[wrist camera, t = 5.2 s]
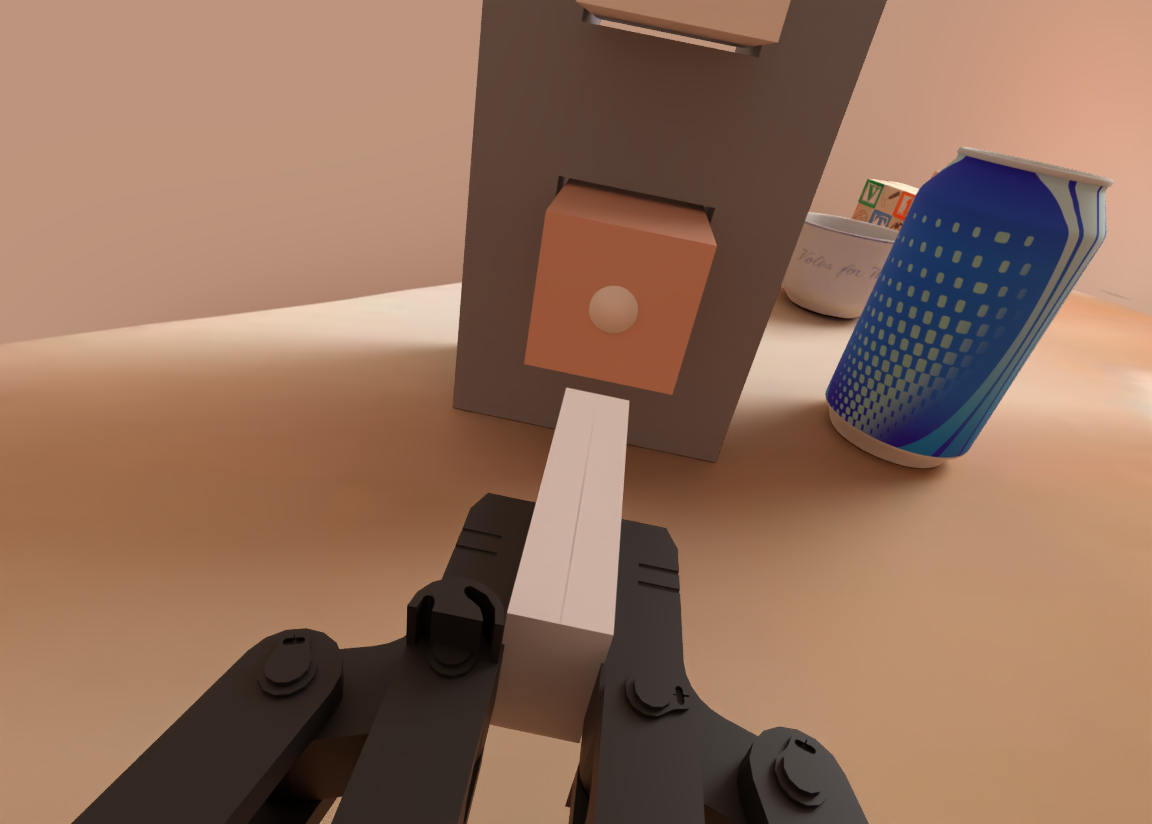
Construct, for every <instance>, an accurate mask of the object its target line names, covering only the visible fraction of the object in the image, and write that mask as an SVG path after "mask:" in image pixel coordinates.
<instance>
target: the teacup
mask: <svg viewBox="0 0 1152 824" xmlns="http://www.w3.org/2000/svg"><path fill="white" fill-rule="evenodd" d="M898 233H899V231H896V230H894V229H890V228H887V227H883V226H879V225H876V224H871V223H867V222H864V221H859V220H854V219H849V218H845V217H840V216H835V215H829V214H822V213H811V212H808V214H807V217H806V220H805V222H804V225H803V228H802V231H801V233H800V236H799V239H798V241H797V244H796V247H795V249H794V252H793V255H792V258H791V260H790V263H789V266H788V268H787V271H786V274H785V276H784V279H783V282H782V284H781V286H782V287H783V288H784V290H785V291H786V293H787V296H788V297H789V299H790V300H791V301H792V302H794V303H795V304H797V305H799V306H801V307H803V308H806V309H808V310H811V311H814V312H817V313H821V314H825V315H830V316H836V317H841V318H856V317H859V316H861V314H862V312H863V309H864V307H865V305H866V303H867V301H868V299H869V296H870V294H871V292H872V290H873V288H874V285H875V283H876V281H877V279H878V277H879V275H880V272H881V270H882V268H883V266H884V264H885V262H886V259H887V257H888V255H889V253H890V251H891V249H892V246H893V244H894V242H895V240H896V238H897V235H898Z"/></svg>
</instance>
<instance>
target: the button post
mask: <svg viewBox="0 0 1152 824" xmlns="http://www.w3.org/2000/svg"><path fill="white" fill-rule="evenodd" d="M886 1H887V0H791V1H790V4H789V8H788V11H787V14H786V18H785V21H784V24H783V28H782V31H781V34H780V38H779V41H778V43H772V44H765V45H759V46H753V47H746V48H740V47H736V50H735V53H734V52H729V51H724V50H719V49H714V48H709V47H704V46H699V45H694V44H690V43H685V42H680V41H675V40H670V39H665V38H660V37H655V36H650V35H645V34H640V33H635V32H631V31H625V30H621V29H615V28H611V27H606V26H601V25H600V22H601V19H598V18H596V17H595V16H594V15H593V14H591V13H590V12H589V11H587V10H586V9H585V8H584V7H582V6H581V5H580V4H578V3H577V2H576V0H483V8H482V20H481V35H480V47H479V62H478V74H477V75H478V76H477V88H476V101H475V115H474V129H473V143H472V157H471V169H470V183H469V196H468V211H467V223H466V237H465V250H464V264H463V278H462V291H461V305H460V318H459V332H458V345H457V359H456V372H455V386H454V399H453V408H458V409H463V410H467V411H472V412H477V413H482V414H486V415H491V416H496V417H501V418H506V419H510V420H515V421H520V422H525V423H530V424H534V425H539V426H544V427H549V428H553V429H556V425H557V421H558V417H559V414H560V410H561V406H562V402H563V399H564V395H565V391H566V388H571V389H576V390H580V391H585V392H590V393H595V394H600V395H605V396H609V397H614V398H619V399H624V400H629V414H628V428H627V443H626V444H630V445H635V446H640V447H644V448H649V449H654V450H659V451H663V452H668V453H673V454H678V455H683V456H687V457H692V458H697V459H702V460H706V461H711V462H716V460H717V457H718V454H719V452H720V449H721V446H722V444H723V441H724V438H725V436H726V433H727V430H728V427H729V425H730V422H731V419H732V417H733V414H734V411H735V409H736V406H737V403H738V400H739V398H740V395H741V392H742V390H743V387H744V384H745V382H746V379H747V376H748V373H749V371H750V368H751V365H752V363H753V360H754V357H755V355H756V352H757V349H758V347H759V344H760V341H761V338H762V336H763V333H764V330H765V328H766V325H767V322H768V320H769V317H770V314H771V311H772V309H773V306H774V303H775V301H776V298H777V295H778V293H779V290H780V287H781V284H782V282H783V279H784V276H785V274H786V271H787V268H788V266H789V263H790V260H791V258H792V255H793V252H794V249H795V247H796V244H797V241H798V239H799V236H800V233H801V231H802V228H803V225H804V222H805V220H806V217H807V214H808V212H809V209H810V206H811V204H812V201H813V198H814V195H815V193H816V190H817V187H818V185H819V182H820V179H821V177H822V174H823V171H824V168H825V166H826V163H827V160H828V158H829V155H830V152H831V149H832V147H833V144H834V141H835V139H836V136H837V133H838V131H839V128H840V125H841V123H842V120H843V117H844V115H845V112H846V109H847V106H848V104H849V101H850V98H851V96H852V93H853V90H854V88H855V85H856V82H857V80H858V77H859V74H860V71H861V69H862V66H863V63H864V61H865V58H866V55H867V52H868V50H869V47H870V44H871V42H872V39H873V36H874V34H875V31H876V28H877V26H878V23H879V20H880V17H881V15H882V12H883V9H884V7H885V4H886ZM569 178H572V179H577V180H582V181H587V182H592V183H596V184H601V185H606V186H611V187H616V188H621V189H626V190H631V191H635V192H640V193H645V194H650V195H655V196H660V197H665V198H669V199H674V200H679V201H684V202H689V203H694V204H699V205H703V207H704V209H705V212H706V215H707V218H708V221H709V224H710V227H711V230H712V233H713V236H714V239H715V241H716V244H717V248H716V251H715V254H714V258H713V261H712V264H711V268H710V271H709V274H708V278H707V281H706V284H705V288H704V291H703V294H702V298H701V301H700V304H699V308H698V311H697V314H696V318H695V321H694V324H693V328H692V331H691V334H690V338H689V341H688V344H687V348H686V351H685V354H684V358H683V361H682V364H681V368H680V371H679V374H678V378H677V381H676V384H675V388H674V391H673V394H672V395H670V394H665V393H661V392H656V391H651V390H646V389H641V388H637V387H632V386H627V385H622V384H617V383H613V382H608V381H603V380H598V379H593V378H589V377H584V376H579V375H574V374H569V373H565V372H560V371H555V370H550V369H545V368H541V367H536V366H531V365H526V364H524V361H525V354H526V347H527V340H528V333H529V326H530V319H531V312H532V305H533V298H534V291H535V284H536V277H537V270H538V263H539V256H540V249H541V242H542V235H543V228H544V221H545V214H546V210H547V208H548V207H549V206H550V204H551V203H552V202H553V200H554V199H555V197H556V196H557V195H558V193H559V192H560V191H561V189H562V188H563V186H564V185H565V184H566V182H567V181H568V179H569Z"/></svg>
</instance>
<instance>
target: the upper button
mask: <svg viewBox="0 0 1152 824" xmlns="http://www.w3.org/2000/svg"><path fill="white" fill-rule="evenodd" d="M790 1H791V0H576V2H577V3H578V4H580V5H581V6H582V7H584V8H585V9H586V10H587V11H589V12H590V13H591V14H593V15H594V16H595V17H596V18H598V19H602V20H608V21H612V22H617V23H623V24H627V25H632V26H637V27H642V28H647V29H652V30H657V31H661V32H666V33H671V34H676V35H681V36H686V37H691V38H696V39H701V40H706V41H711V42H716V43H720V44H725V45H730V46H736V47H740V48H746V47H753V46H759V45H765V44H772V43H778V41H779V38H780V34H781V31H782V28H783V24H784V21H785V18H786V14H787V11H788V8H789V4H790Z"/></svg>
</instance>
